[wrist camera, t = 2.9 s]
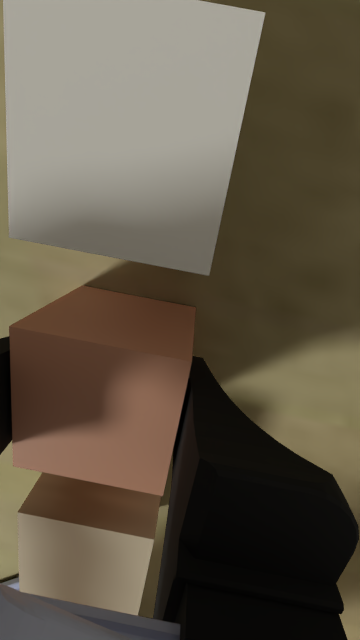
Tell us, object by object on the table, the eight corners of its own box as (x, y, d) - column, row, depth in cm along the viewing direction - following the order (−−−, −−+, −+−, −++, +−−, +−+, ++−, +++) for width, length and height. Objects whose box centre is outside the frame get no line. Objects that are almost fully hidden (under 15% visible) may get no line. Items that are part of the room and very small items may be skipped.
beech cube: (169, 439, 14) (154, 539, 10) (155, 506, 16) (136, 620, 12) (75, 420, 14) (17, 512, 10) (70, 489, 16) (19, 595, 12)
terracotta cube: (196, 307, 12) (192, 361, 7) (176, 403, 14) (163, 496, 9) (82, 285, 12) (9, 326, 7) (76, 383, 14) (13, 466, 9)
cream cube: (236, 108, 10) (265, 12, 5) (206, 252, 11) (209, 276, 7) (95, 82, 10) (2, -36, 5) (86, 230, 11) (9, 237, 7)
